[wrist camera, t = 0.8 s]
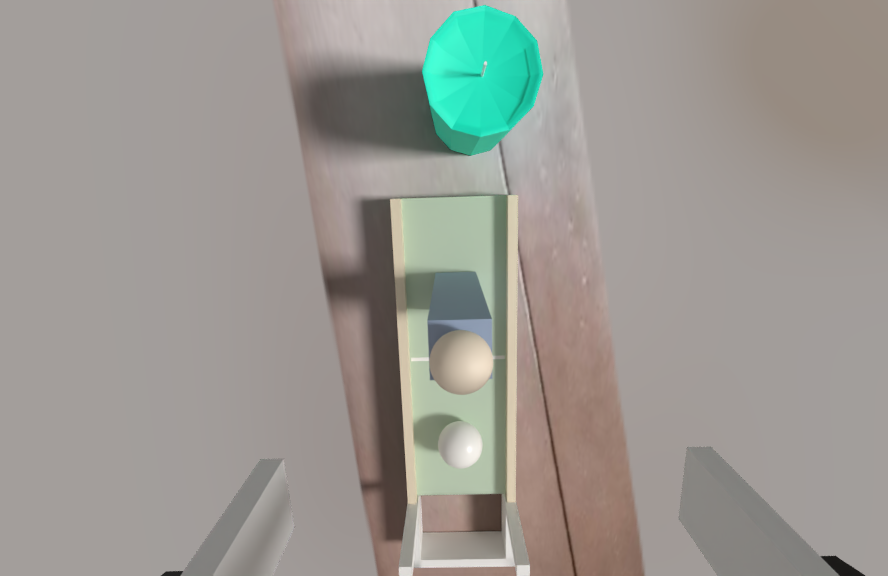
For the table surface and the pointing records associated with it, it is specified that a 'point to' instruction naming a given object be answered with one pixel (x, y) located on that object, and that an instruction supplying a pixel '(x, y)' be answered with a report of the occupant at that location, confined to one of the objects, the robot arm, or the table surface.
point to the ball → (460, 444)
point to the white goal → (463, 544)
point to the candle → (480, 77)
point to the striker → (459, 333)
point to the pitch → (423, 401)
